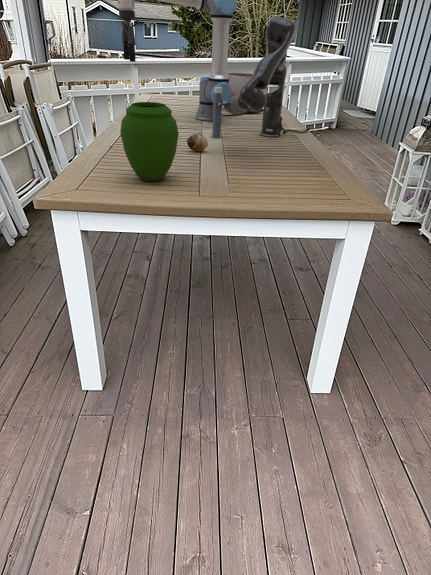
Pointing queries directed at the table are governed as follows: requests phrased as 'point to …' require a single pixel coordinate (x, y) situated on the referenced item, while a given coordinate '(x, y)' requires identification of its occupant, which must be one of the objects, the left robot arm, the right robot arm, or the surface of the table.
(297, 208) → the table surface
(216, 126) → the bottle
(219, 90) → the cap
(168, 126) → the vase
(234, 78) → the planter
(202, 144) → the seashell
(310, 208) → the table surface
